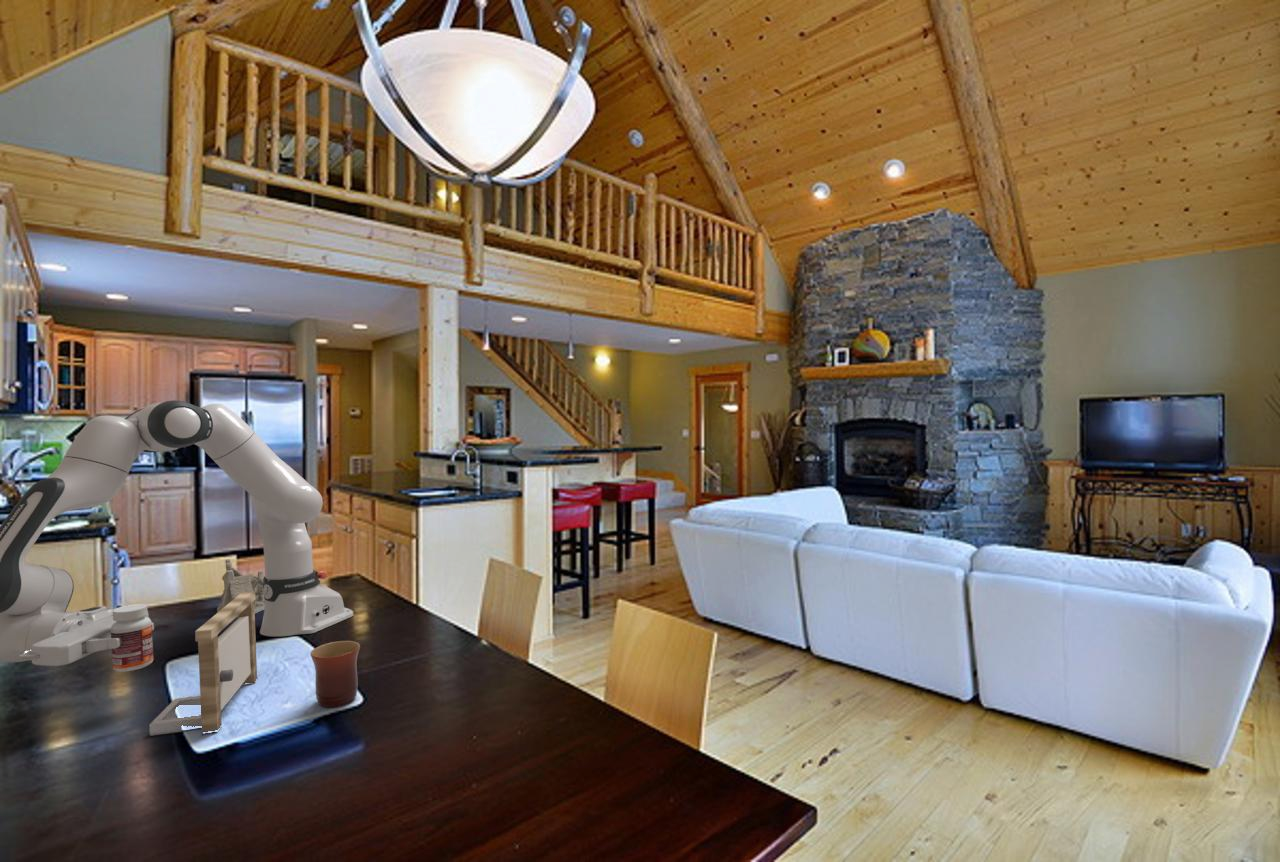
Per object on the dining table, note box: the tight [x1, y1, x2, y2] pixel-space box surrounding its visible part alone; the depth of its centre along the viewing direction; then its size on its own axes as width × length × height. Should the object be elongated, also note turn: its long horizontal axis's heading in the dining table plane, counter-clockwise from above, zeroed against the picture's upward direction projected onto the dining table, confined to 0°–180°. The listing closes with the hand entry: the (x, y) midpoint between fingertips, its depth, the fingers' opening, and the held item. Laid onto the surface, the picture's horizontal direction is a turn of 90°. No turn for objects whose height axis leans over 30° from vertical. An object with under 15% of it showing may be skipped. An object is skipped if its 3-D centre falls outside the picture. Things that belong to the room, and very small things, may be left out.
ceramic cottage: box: [216, 558, 265, 619], centre depth 184 cm, size 16×16×15 cm
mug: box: [310, 640, 361, 708], centre depth 125 cm, size 12×9×10 cm
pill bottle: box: [111, 603, 154, 673], centre depth 121 cm, size 6×6×11 cm
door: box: [218, 616, 251, 711], centre depth 123 cm, size 18×3×12 cm, turn 16°
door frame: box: [194, 591, 258, 733], centre depth 122 cm, size 25×2×19 cm, turn 16°
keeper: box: [148, 695, 202, 737], centre depth 118 cm, size 10×9×2 cm
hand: (136, 634), depth 121 cm, fingers closed on pill bottle, 6 cm apart
